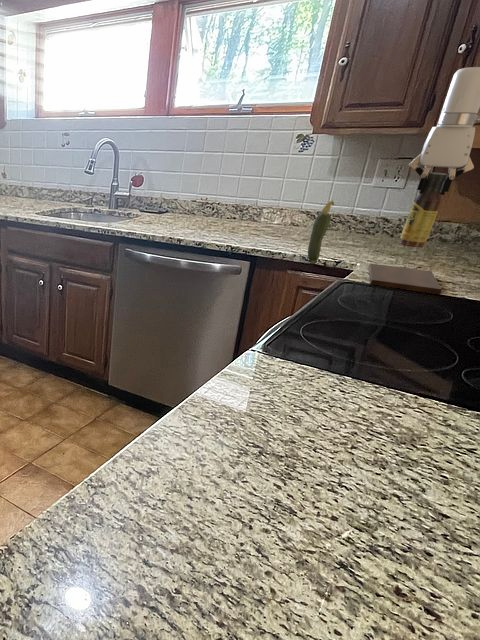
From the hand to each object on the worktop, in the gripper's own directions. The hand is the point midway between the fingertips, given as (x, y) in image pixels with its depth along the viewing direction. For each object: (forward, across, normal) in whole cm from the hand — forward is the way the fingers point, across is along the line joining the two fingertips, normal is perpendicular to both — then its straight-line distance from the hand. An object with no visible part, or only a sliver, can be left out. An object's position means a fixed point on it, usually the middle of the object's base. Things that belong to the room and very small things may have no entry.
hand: (431, 193), depth 145 cm
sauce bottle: (+15, 0, 0) cm, 15 cm away
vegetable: (+25, +24, -8) cm, 36 cm away
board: (+25, 0, 0) cm, 25 cm away
